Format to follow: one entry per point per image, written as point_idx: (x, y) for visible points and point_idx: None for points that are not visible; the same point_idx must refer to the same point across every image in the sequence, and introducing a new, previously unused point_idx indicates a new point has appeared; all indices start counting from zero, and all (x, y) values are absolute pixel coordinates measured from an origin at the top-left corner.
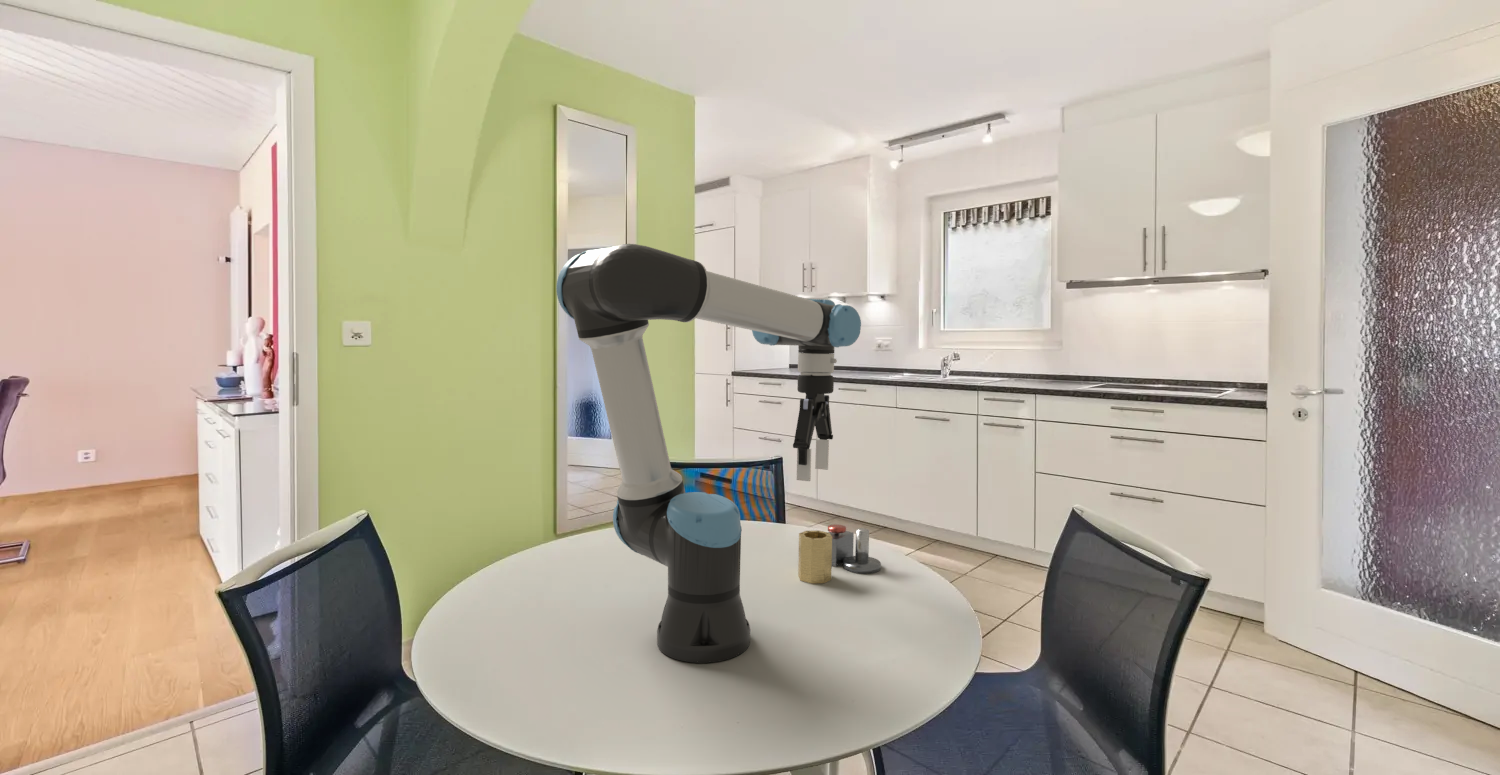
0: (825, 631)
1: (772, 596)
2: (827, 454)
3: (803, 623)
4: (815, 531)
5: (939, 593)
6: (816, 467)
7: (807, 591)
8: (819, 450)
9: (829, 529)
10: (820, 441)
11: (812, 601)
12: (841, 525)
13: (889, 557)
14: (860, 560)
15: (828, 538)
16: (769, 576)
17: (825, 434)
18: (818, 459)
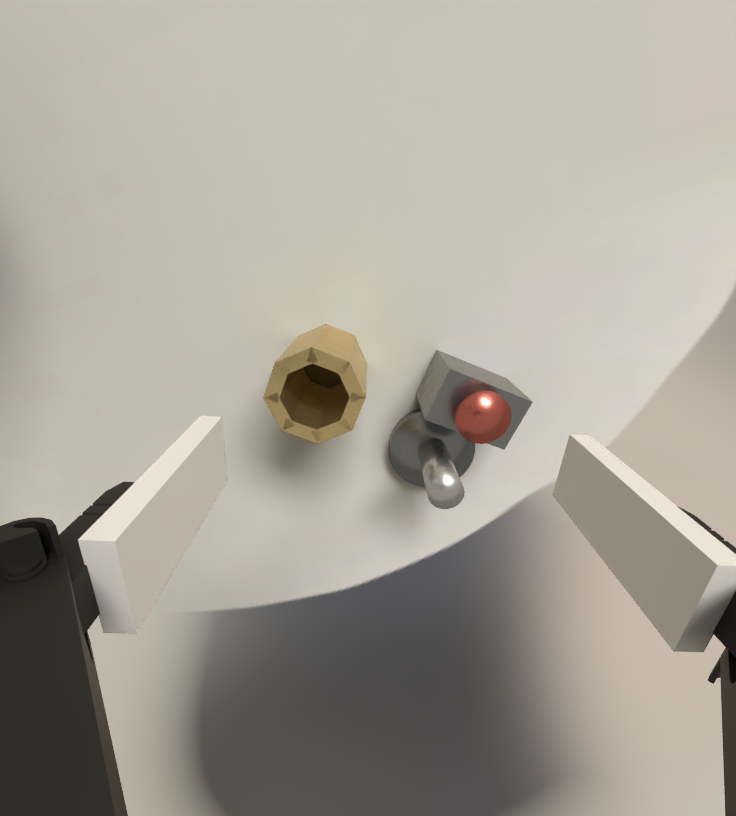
0: (81, 436)
1: (178, 300)
2: (600, 556)
3: (88, 394)
4: (350, 390)
5: (336, 576)
6: (571, 444)
7: (242, 366)
8: (636, 524)
9: (465, 400)
10: (685, 587)
11: (195, 387)
12: (503, 428)
13: (513, 488)
14: (418, 454)
15: (300, 436)
16: (295, 254)
17: (731, 687)
18: (597, 480)
